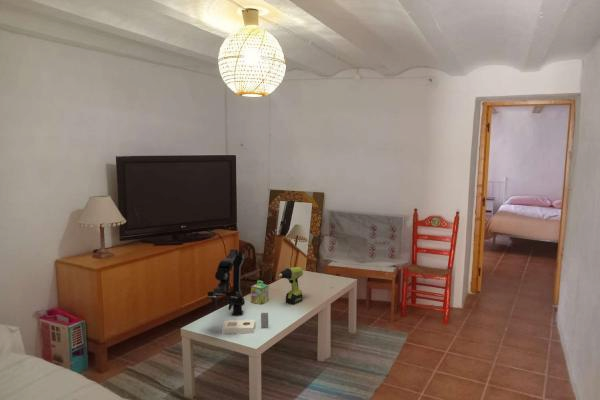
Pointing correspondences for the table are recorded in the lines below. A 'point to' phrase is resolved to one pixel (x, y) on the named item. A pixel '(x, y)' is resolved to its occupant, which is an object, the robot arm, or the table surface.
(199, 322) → the table surface
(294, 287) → the cordless drill
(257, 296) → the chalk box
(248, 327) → the socket plate
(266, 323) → the square peg
